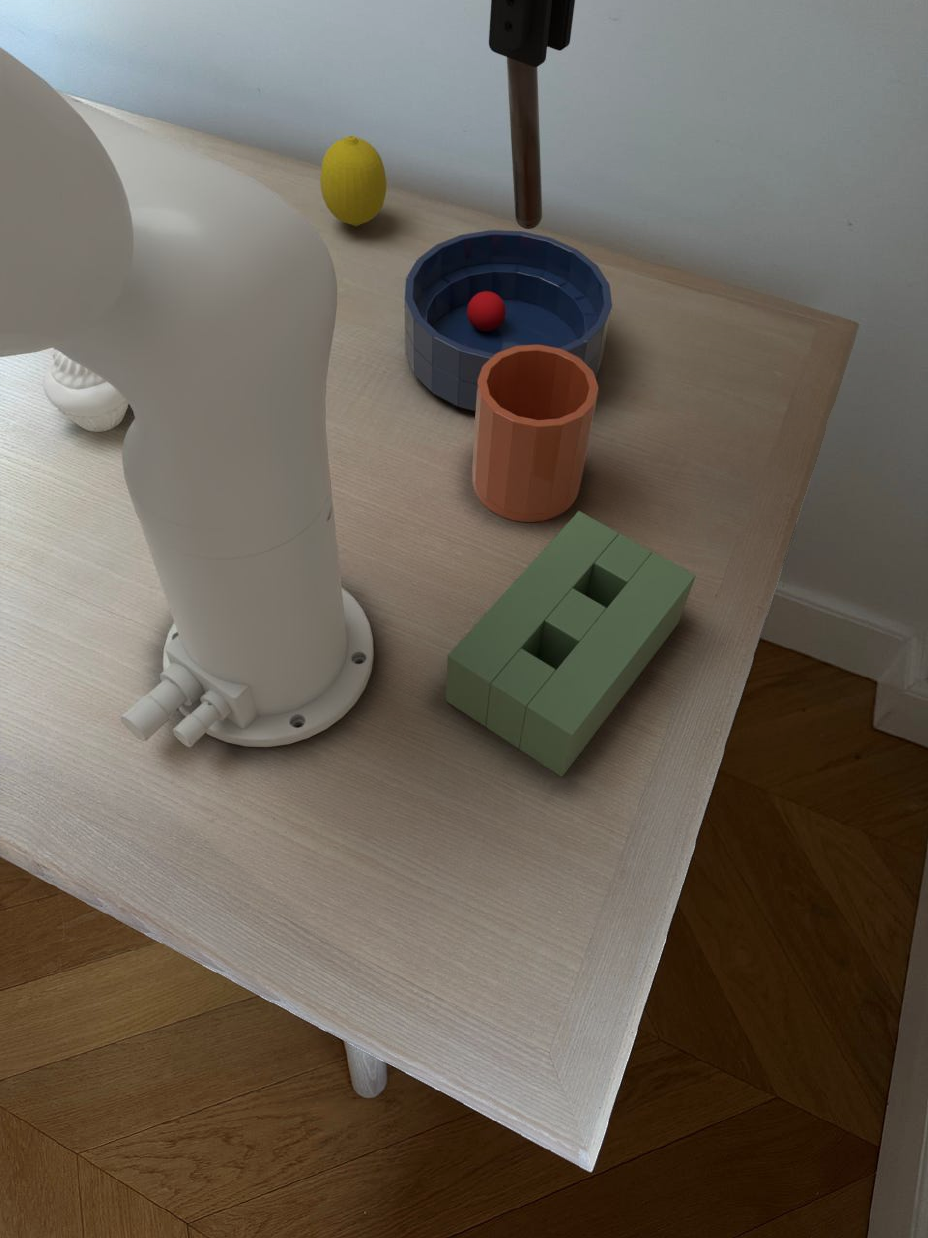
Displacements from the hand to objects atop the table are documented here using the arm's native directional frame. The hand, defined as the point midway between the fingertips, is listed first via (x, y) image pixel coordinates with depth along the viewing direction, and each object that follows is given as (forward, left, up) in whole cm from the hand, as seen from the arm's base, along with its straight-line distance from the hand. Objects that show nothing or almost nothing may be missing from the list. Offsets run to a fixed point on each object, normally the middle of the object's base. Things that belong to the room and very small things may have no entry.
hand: (529, 46), depth 53 cm
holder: (-14, -15, -27) cm, 34 cm away
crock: (-3, -5, -27) cm, 28 cm away
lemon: (+13, +24, -27) cm, 38 cm away
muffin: (-17, +23, -27) cm, 40 cm away
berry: (+8, +7, -25) cm, 27 cm away
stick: (0, -1, -10) cm, 10 cm away
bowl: (+7, +4, -27) cm, 28 cm away
